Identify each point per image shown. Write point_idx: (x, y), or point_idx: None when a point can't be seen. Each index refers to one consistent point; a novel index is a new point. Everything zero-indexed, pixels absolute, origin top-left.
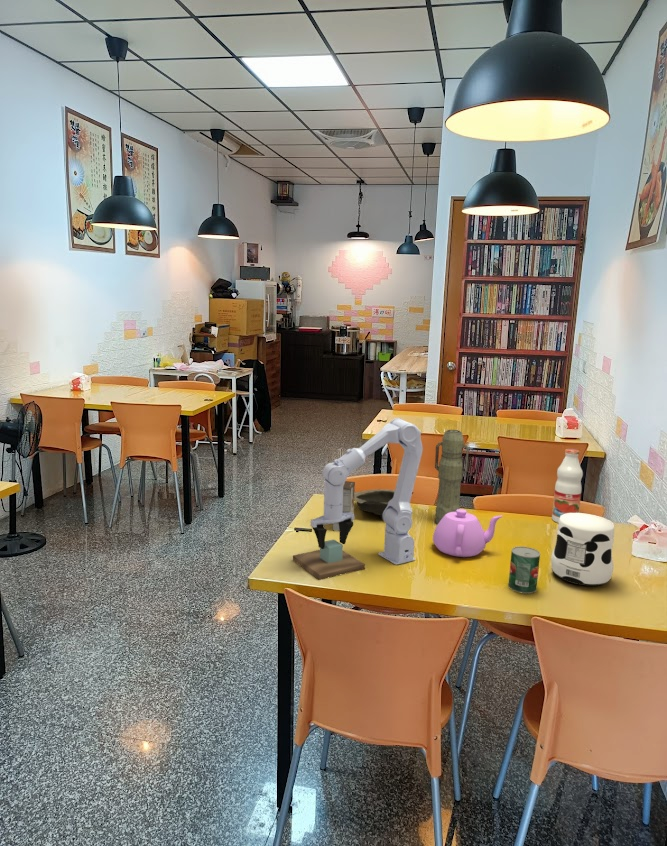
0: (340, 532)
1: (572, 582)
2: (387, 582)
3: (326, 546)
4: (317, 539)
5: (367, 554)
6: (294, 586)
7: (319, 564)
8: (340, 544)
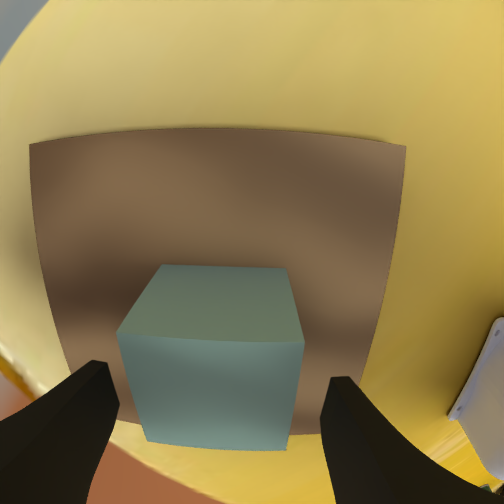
0: (362, 454)
1: (501, 492)
2: (314, 485)
3: (140, 415)
4: (46, 399)
5: (474, 293)
6: (11, 374)
7: (117, 343)
8: (273, 442)
